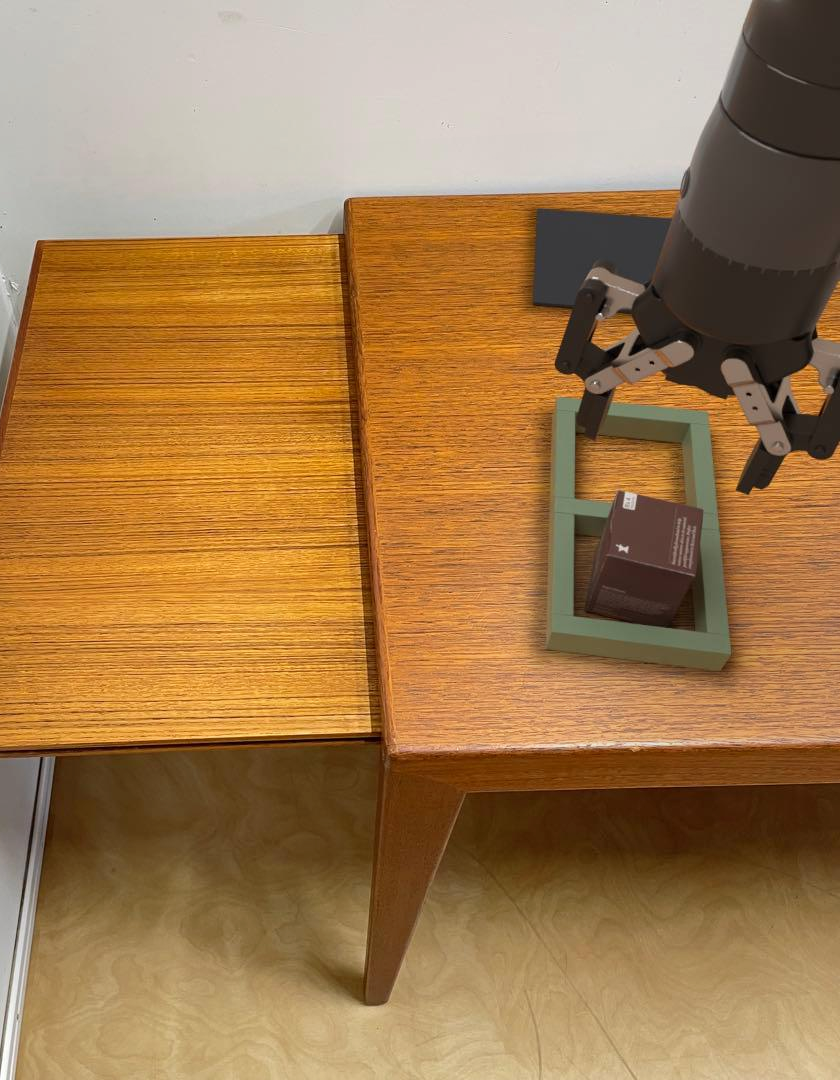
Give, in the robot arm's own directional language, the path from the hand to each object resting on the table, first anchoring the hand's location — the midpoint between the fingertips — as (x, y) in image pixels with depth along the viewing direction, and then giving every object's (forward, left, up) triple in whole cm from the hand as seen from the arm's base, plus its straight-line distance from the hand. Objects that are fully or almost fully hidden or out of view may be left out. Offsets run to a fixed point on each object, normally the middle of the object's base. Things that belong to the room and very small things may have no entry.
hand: (667, 455), depth 55 cm
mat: (-2, -41, -20) cm, 46 cm away
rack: (-3, -9, -20) cm, 22 cm away
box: (-3, -4, -20) cm, 20 cm away
